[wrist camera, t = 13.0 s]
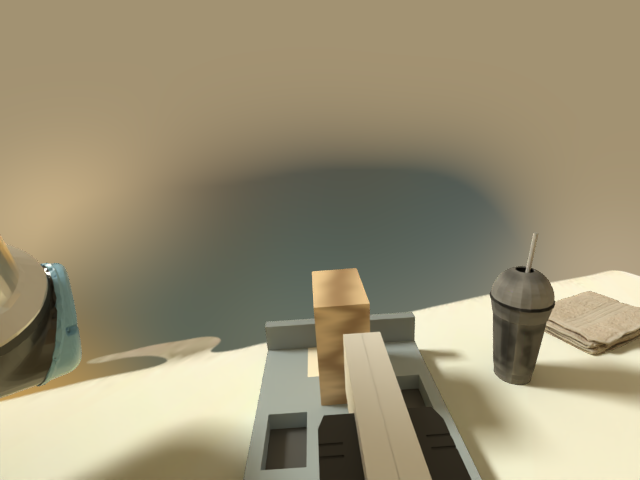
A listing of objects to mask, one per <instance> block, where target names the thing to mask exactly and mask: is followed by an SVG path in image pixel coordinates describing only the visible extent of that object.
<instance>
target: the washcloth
mask: <svg viewBox="0 0 640 480" xmlns="http://www.w3.org/2000/svg"><path fill="white" fill-rule="evenodd" d="M544 332H546V333H548V334H550V335H552V336H554V337H557V338H559V339H561V340H563V341H564V342H566V343H568V344H570V345H572V346H574V347H576V348H578V349H580V350H582V351H584V352H586V353H589V354H598V353H605V351H608V350H614V349H616V348H618V347H621V346H623V345H625V344H627V343H629V342H632V341H633V340H636V339H638V338H640V307H634V306H630V305H628V304H624V303H620V302H619V301H617V300H614V299H612V298H609V297H606V296H604V295H601V294H597V293H595V292H592V291H587V292H583V293H580V294H578V295H576V296H572V297H568V298H565V299H561V300H558V301H556V302H555V306H554V308H553V309H552V312H551V315H550V317H549V319H548V321H547V323H546V327H545V330H544ZM611 347H612V348H611Z"/></svg>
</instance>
